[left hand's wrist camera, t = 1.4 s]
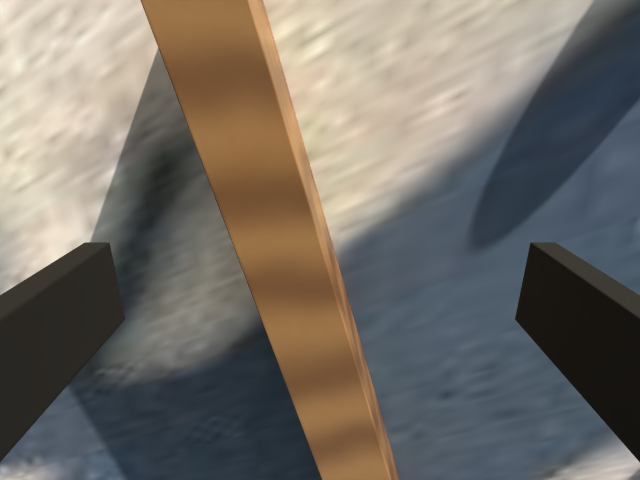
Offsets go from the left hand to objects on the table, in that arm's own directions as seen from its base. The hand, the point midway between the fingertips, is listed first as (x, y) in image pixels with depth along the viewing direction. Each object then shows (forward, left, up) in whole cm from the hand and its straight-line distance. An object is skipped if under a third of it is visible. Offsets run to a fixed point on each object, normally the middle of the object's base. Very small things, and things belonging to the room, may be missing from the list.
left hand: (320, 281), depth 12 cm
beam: (+6, +23, -17) cm, 29 cm away
